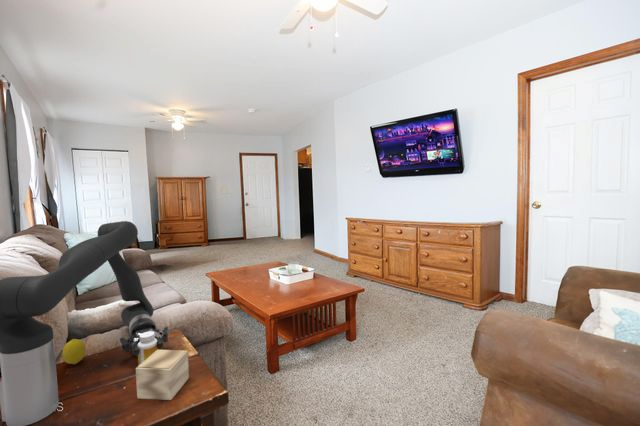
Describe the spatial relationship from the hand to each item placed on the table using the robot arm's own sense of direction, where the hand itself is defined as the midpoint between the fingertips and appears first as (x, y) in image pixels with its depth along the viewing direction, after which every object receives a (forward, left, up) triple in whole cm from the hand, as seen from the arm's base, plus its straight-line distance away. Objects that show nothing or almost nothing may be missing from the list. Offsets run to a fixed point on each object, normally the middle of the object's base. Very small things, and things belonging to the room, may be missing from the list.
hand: (148, 349), depth 90 cm
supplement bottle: (-2, +2, -6) cm, 7 cm away
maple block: (+9, -8, -6) cm, 14 cm away
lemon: (-25, +1, -6) cm, 25 cm away
